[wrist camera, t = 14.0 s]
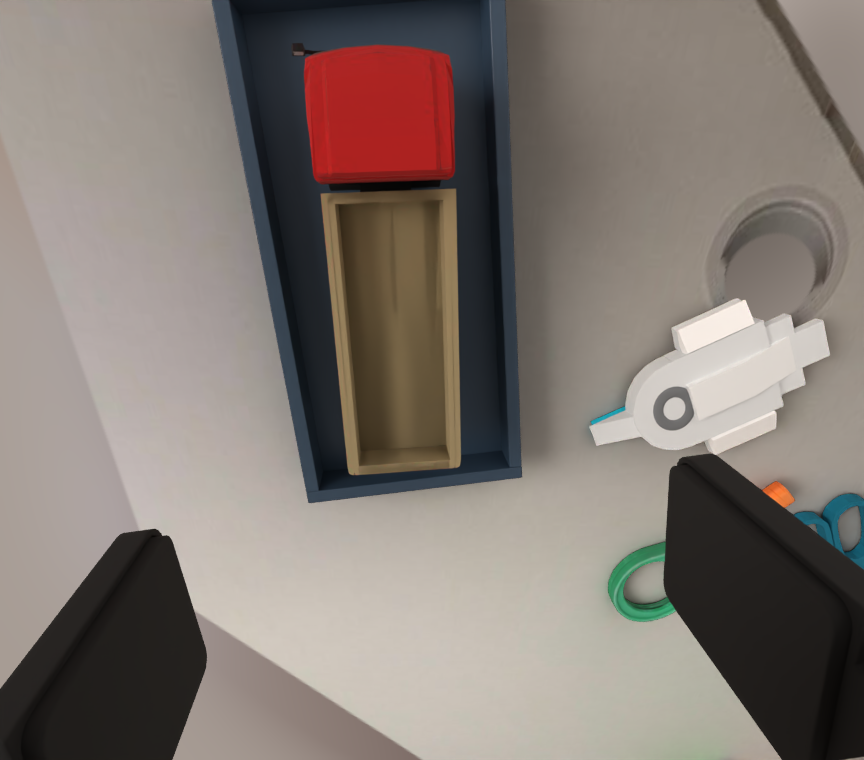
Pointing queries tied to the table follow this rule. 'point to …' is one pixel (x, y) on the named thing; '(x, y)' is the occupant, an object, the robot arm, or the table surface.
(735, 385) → the toy rocket
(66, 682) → the robot arm
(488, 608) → the table surface
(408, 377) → the toy truck
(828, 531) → the scissors
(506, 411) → the toy tray
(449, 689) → the table surface
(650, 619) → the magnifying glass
